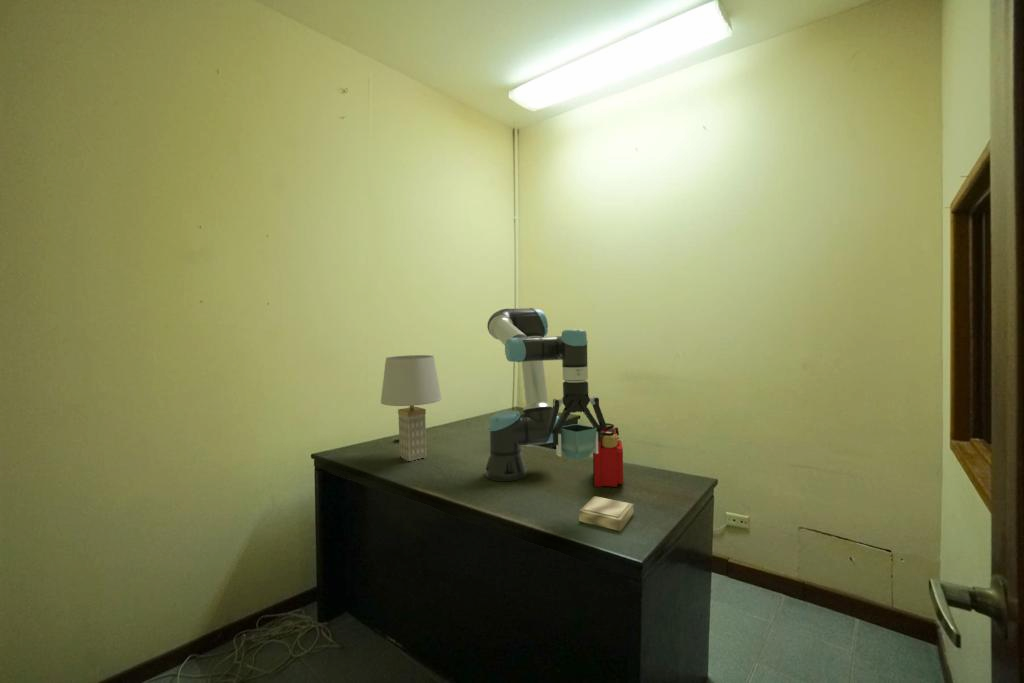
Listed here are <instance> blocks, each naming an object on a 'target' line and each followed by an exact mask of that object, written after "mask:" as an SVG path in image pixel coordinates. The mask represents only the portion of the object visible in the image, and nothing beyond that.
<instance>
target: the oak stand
mask: <svg viewBox="0 0 1024 683" xmlns="http://www.w3.org/2000/svg"><path fill="white" fill-rule="evenodd" d="M634 510H635V508H634V503H630V502H625V501H621V500H615V499H611V498H605V497H601V496H597V495H596V496H595V495H594V496H593V497H592V498H591V499H590V500H589V501H587V503H586V504H585V505H584V506H582V508H580V509H579V511H578V517H579V518H578V521H579V522H582V523H586V524H590V525H592V526H593V525H594V526H597V527H602V528H606V529H611V530H614V531H619V532H622V531H623V529H624V527H626V524H628V522H629V521H630V519H631V518H632V517H633V515H634V512H635V511H634Z"/></svg>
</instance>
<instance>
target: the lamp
mask: <svg viewBox="0 0 1024 683" xmlns="http://www.w3.org/2000/svg"><path fill="white" fill-rule="evenodd" d="M382 379H383V380H382V388H381V396H380V404H381V405H384V406H389V407H390V406H391V407H403V408H398V409H397V414H398V433H399V434H398V441H399V457H400V456H401V457H403V458H405V459H407V460H413V459H418V458H422V457H426V458H427V431H426V430H427V428H426V427H427V426H426V424H427V423H426V414H427V413H426V408H423V407H420V406H421V405H422V406H423V405H424V406H425V405H429V404H430V405H431V404H434V403H438V402H441V400H442V395H441V390H440V384H439V378H438V373H437V367H436V361H435V356H434V355H431V354H427V355H426V354H419V355H418V354H415V355H410V354H409V355H395V356H387V357H385V363H384V372H383V378H382ZM405 406H406V407H405ZM418 406H419V407H418Z"/></svg>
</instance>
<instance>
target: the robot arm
mask: <svg viewBox="0 0 1024 683" xmlns="http://www.w3.org/2000/svg"><path fill="white" fill-rule="evenodd" d="M548 323H549V322H548V319H547V316H546V314H545V312H544V311H543V310H542V309H541V308H535V307H533V308H532V307H529V308H528V307H527V308H524V307H523V308H502V309H499V310H497V311H496V312H494V313H492V315H490V317H489V319H488V320H487V323H486V324H487V325H486V326H487V331H488V333H489V334H490V336H491V337H492V338H494V339H496V340H499V341H500V342H501V344H502V345H504V355H505V357H506V359H507V361H508V362H510V363H511V362H512V363H513V362H515V363H521V369H522V379H523V387H524V398H525V406H524V408H523V409H522V414H521V413H520V411H519V410H517V409H516V410H514V409H513V410H503V411H498V412H497V413H494V414H493V415H491V416H490V417H489V422H488V424H489V426H488V431H489V432H488V433H489V456H488V461H487V464H486V467H485V476H486V478H488V479H489V480H491V481H495V482H512V481H513V482H514V481H517V480H518V481H519V480H521V479H523V478H525V477H526V475H527V469H526V465H525V462H524V459H523V455H522V452H521V451H522V449H521V448H522V446H532V445H546V444H550V443H551V444H552V443H553V445H554V446H556V448H555V449H556V450H555V451H556V453H555V454H556V456H558V457H560V458H561V457H562V450H561V434H559V431H560V429H561V428H562V427H563V426H564V424H565V422H566V421H567V418H568V417H569V416H570V415H571V413H572V414H573V413H583V414H584V415H585V417H586V418H587V419H588V421H589V422H590V424H591V427H595V428H597V432H596V441H595V446H594V449H593V451H592V453H593V452H594V453H596V454H598V442H600V441H601V431H602V430H603V429H606V428H607V426H606V421H605V418H604V415H603V412H602V410H601V407H600V398H599V397H597V396H593V397H590V396H589V382H588V379H589V374H588V373H589V370H588V369H589V368H588V367H589V366H588V343H589V342H588V337H587V336H588V335H587V331H586V330H585V329H564V330H562V332H561V336H559V335H557V336H547V335H548V331H549V329H548V328H549V324H548ZM544 361H562V362H561V363H562V380H563V382H562V393H563V394H562V398H560V399H559V398H558V399H557V398H554V399H552V405H551V404H550V403H549V401H548V400H549V399H548V390H547V384H546V382H547V381H546V376H545V366H544ZM562 404H563V406H564V408H563V409H562V412H561V414H560V416H559V411H560V407H562ZM589 404H591V405H592V408H593V411H594V413H595V415H596V419H597V420H596V419H595V417H594V416H593V414H592V413H591V411H590V409H589V407H588V405H589Z"/></svg>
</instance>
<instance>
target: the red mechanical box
mask: <svg viewBox="0 0 1024 683" xmlns="http://www.w3.org/2000/svg"><path fill="white" fill-rule="evenodd" d="M605 423H606V422H605ZM606 426H607V428H606V429H603V430H602V431H601V441H600V442H598V454H596V453H594V452H593V451H592V455H593V456H592V460H593V461H592V463H593V468H592V469H593V473H592V474H593V478H592V482H593V486H594V487H598V488H600V487H601V488H602V487H618V485H624V450H623V448H624V447H623V445H622V444H623V443H622V440H619V439H620V430H619V427H617V426H615V424H613V423H609V422H607V423H606Z"/></svg>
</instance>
